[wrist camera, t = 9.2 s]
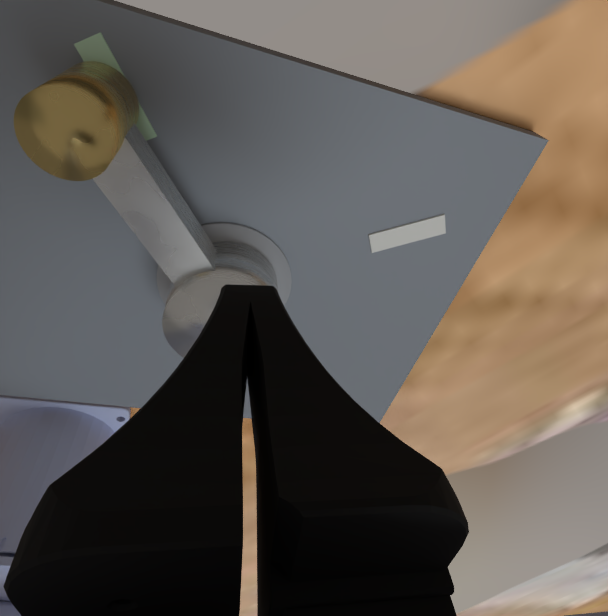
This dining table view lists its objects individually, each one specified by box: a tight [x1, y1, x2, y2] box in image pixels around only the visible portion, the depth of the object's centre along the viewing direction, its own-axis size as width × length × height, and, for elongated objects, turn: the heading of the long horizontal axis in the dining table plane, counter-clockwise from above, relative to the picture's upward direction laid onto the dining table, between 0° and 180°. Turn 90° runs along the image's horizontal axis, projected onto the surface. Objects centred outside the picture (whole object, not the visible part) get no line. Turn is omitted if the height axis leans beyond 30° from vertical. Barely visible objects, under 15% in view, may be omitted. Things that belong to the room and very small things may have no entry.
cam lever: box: [14, 61, 279, 358], centre depth 17 cm, size 13×5×4 cm, turn 23°
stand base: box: [0, 0, 549, 423], centre depth 22 cm, size 20×24×1 cm
